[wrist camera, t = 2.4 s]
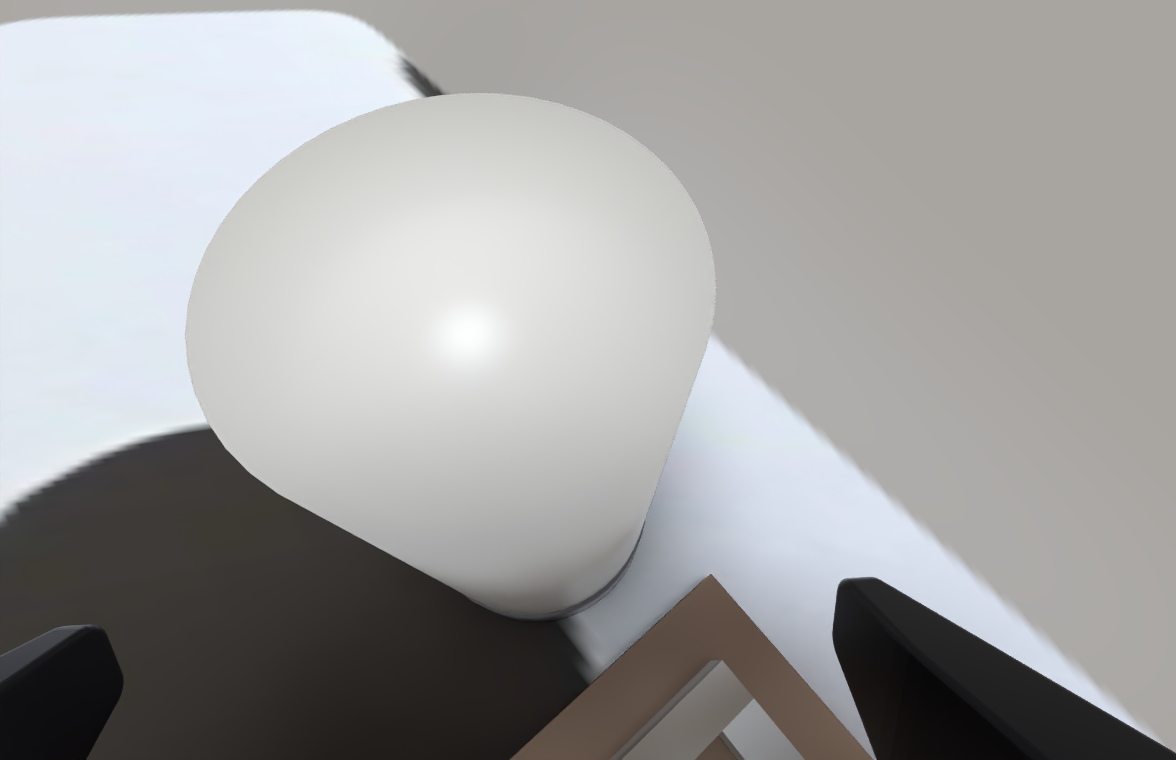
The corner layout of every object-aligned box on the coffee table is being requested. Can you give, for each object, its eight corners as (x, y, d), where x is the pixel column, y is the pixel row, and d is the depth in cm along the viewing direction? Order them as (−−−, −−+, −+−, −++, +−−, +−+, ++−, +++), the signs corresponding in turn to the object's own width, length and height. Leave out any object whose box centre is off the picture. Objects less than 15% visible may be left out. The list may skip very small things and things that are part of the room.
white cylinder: (683, 526, 17) (834, 298, 6) (518, 672, 16) (350, 690, 5) (558, 384, 19) (513, 33, 9) (400, 498, 18) (100, 241, 7)
